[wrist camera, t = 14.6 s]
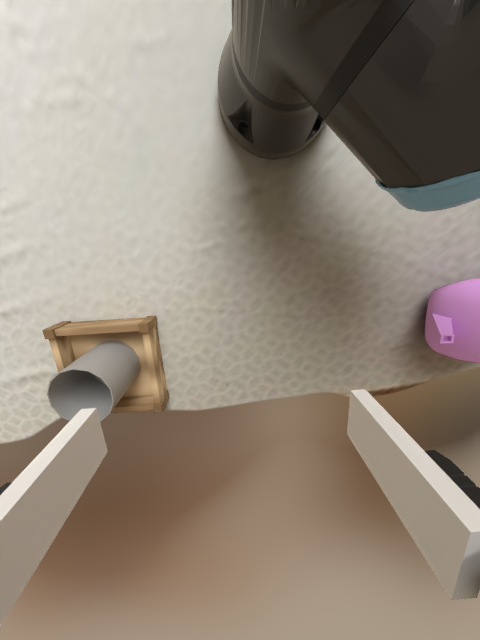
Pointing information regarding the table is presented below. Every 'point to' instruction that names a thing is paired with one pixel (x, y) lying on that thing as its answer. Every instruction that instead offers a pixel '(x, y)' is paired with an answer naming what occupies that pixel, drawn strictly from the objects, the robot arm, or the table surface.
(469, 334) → the teapot
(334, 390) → the table surface
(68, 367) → the cup
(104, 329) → the crate
